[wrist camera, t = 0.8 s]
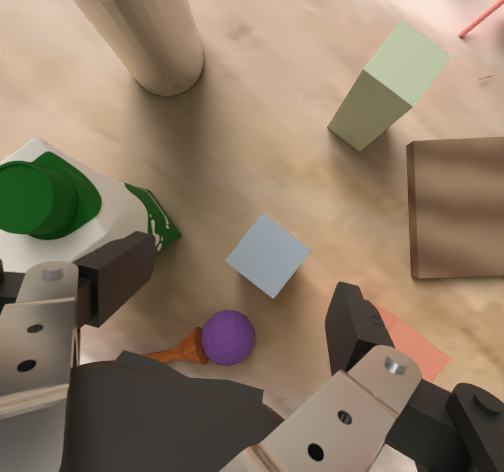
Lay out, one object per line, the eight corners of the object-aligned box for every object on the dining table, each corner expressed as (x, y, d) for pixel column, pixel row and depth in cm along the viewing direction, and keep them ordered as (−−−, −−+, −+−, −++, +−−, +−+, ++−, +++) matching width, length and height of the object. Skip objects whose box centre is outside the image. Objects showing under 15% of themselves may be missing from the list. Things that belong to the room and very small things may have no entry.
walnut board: (406, 145, 34) (413, 141, 32) (524, 140, 34) (537, 135, 32) (411, 276, 34) (418, 278, 32) (528, 272, 34) (542, 274, 32)
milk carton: (191, 236, 35) (99, 238, 15) (133, 278, 35) (-35, 335, 15) (151, 179, 35) (6, 105, 15) (93, 221, 35) (-126, 204, 15)
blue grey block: (268, 277, 35) (273, 299, 23) (236, 252, 35) (224, 261, 23) (293, 245, 34) (311, 250, 22) (261, 220, 35) (262, 212, 23)
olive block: (359, 151, 34) (413, 106, 22) (327, 127, 34) (363, 69, 22) (384, 119, 34) (452, 56, 22) (352, 94, 34) (402, 19, 22)
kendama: (73, 359, 31) (239, 306, 29) (109, 347, 37) (249, 301, 35) (83, 415, 30) (256, 364, 28) (118, 393, 36) (263, 349, 34)
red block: (358, 347, 34) (411, 407, 22) (326, 322, 34) (361, 368, 22) (383, 315, 34) (450, 358, 22) (351, 290, 34) (400, 319, 22)
